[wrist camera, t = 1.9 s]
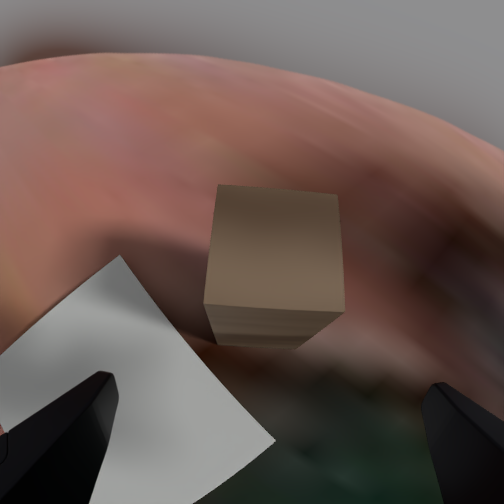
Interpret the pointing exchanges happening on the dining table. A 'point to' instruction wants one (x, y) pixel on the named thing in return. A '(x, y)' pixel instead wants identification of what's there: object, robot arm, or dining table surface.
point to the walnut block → (273, 266)
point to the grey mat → (133, 392)
